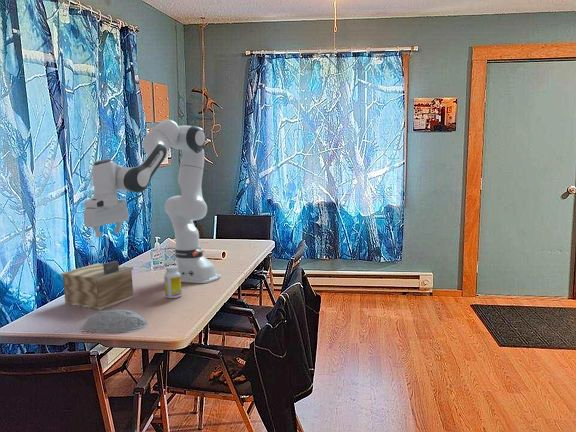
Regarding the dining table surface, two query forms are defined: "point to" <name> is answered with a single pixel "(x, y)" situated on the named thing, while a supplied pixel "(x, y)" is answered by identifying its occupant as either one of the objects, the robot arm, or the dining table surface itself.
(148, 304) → the dining table surface
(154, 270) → the dining table surface
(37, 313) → the dining table surface
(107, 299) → the wooden box
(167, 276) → the supplement bottle
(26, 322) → the dining table surface
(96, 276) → the lid
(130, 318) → the grey oval stone
